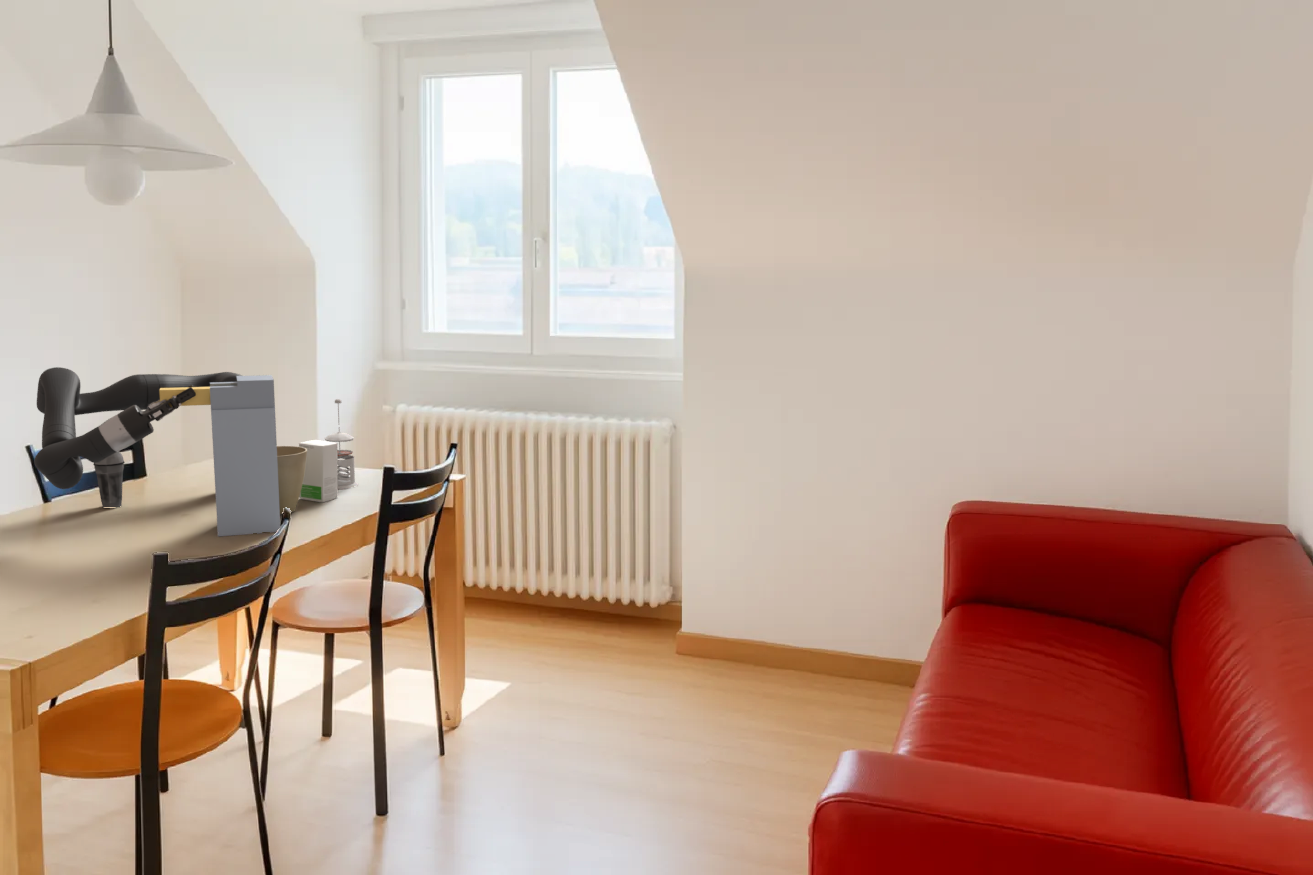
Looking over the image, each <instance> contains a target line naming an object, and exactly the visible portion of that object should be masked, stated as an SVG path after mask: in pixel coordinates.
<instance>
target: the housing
mask: <svg viewBox="0 0 1313 875" xmlns="http://www.w3.org/2000/svg"><path fill="white" fill-rule="evenodd" d="M275 398H276V397H275V380H274V378H273V375H272V374H268V375H267V374H265V375H264V374H263V375H260V374H259V375H242V376H237V382H213V383H210V401H211V405H210V413H211V414H210V417H211V432H212V434H211V435H212V436H211V437H212V452H213V453H212V454H213V468H214V470H213V473H214V474H213V476H214V491H215V509H216V510H215V511H216V524H217V526H216V528H217V529H216V530H217V537H227V536H228V537H229V536H240V535H241V536H242V535H254V534H253V533H257V534H263V533H262V532H270V533H277V532H276V531H277V530H278V529H279V528H280V529H281V514H280V509H279V486H278V463H277V446H278V445H277V425H276V424H277V423H276V422H277V421H276V420H277V418H276V403H275V402H276V400H275Z"/></svg>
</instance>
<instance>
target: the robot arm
mask: <svg viewBox="0 0 1313 875" xmlns="http://www.w3.org/2000/svg"><path fill="white" fill-rule="evenodd" d="M237 376H243V374H240V373H236V372H233V371H222V372H216V373H210V374H209V373H208V374H199V375H181V374H180V375H179V374H168V373H167V374H166V373H162V374H161V373H158V374H157V373H152V374H151V373H150V374H149V373H147V374H146V373H144V374H143V373H140V374H131V375H129V376H127V377H125V378H122V379H120V380H119V381H116V382H113V384H111V385H109V386H107V387H105V388H102V389H100V390H95V391H92V392H82V393H81V380H80V378H79V376H78V374H77V373H76V372H74V371H73V370H71V369H69V368H66V367H59V366H57V367H51V368H47V369H45V370H44V371H43V372H41V374H40V376H39V378H38V382H37V391H36V392H37V393H36V408H37V410H38V411H39V412H40V413H42V414H43V423H42V430H41V449H40V450H39V451H38V452H37V453H36V454H35V457H34V460H33V463H34V465H35V466H34V467H35V468H36V469H37V470H38V472H40V473H41V474H42V475H43V476H44V477H45V479H47V480H48V481H49V482H50V484H52V486H54V487H56V488H57V489H61V490H68V489H71V488H72V489H73V487H75V486H76V485H77V484H78V483H80V481H81V479H82V477H83V474H84V466H83V461H82V459H81V458H84V459H85V460H87V461H89V462H90V463H93V464H94V463H97V462H100V461H102V460H104V459H105V458H107V457H109V456H110V455H112V454H114V453H116V452H118V451H119V452H120V451H121V450H123V449H126V448H128V447H130V446H132V445H134V444H135V443H137V442H139V441H141V440H142V439H144V438H146V437H148V436H149V435H151V434H152V433H154V430H155V429H154V427H153V425H152V424H153V423H152V422H153V421H156V422H160V421H161V420H163V418H165V417H166V416H168V415H170V414H172V413H173V412H174V411H175V410H177V409H179V407H182V406H181V405H182V403H184V402H185V401H187V400H189V399H191V398H192V397H194V396H196V393H195V391H194V390H193V388H191V387H210V383H213V382H237ZM181 387H190V388H188V389H186V390H184V391H183V392H181V393H179V394H177V396H176V395H175V396H172V397H171V398H170V399H163V400H162V401H160V392H159V390H160V388H181ZM181 402H182V403H181ZM161 403H163V404H161ZM169 403H170V404H171V405H172V406H171V405H170V404H169ZM116 411H117V412H118V411H120V412H118V413H117V414H115V415H114V416H112V417H110V418H108V419H107V420H105V421H104V422H102V423H101V424H99V425H98V426H96V427H94V428H93V429H91V430H89V431H88V432H86V433H84V434H81V435H79V436H77V432H76V418H75V417H76V416H80V415H88V414H95V413H96V414H97V413H103V412H104V413H105V412H116Z"/></svg>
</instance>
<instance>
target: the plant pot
mask: <svg viewBox="0 0 1313 875" xmlns="http://www.w3.org/2000/svg"><path fill="white" fill-rule="evenodd" d="M306 457H307V449H306V448H303V447H299V445H298V446H295V445H277V463H278V486H279V509H280V515H283V514H282V512H283V508H285V507H287V508H290V510H291V511H292V512H291V513H294V512H295V511H296V508H297V505H298V502H299V500H300V498H299V496H300V492H301V488H302V484H303V479H304V474H305V467H306Z"/></svg>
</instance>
